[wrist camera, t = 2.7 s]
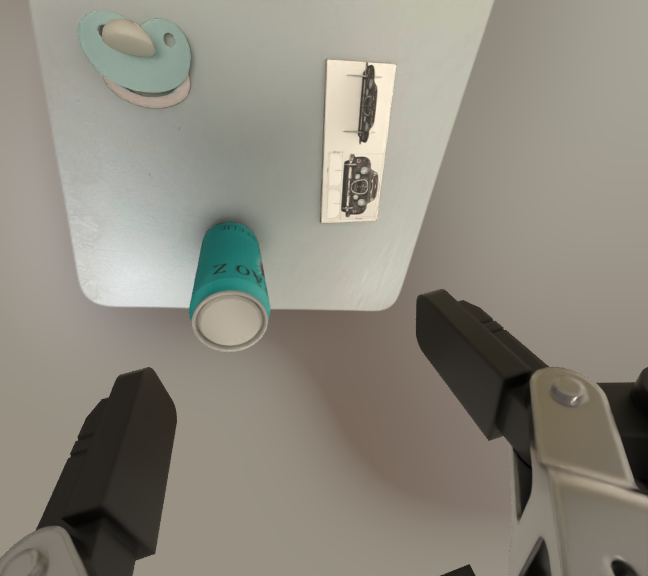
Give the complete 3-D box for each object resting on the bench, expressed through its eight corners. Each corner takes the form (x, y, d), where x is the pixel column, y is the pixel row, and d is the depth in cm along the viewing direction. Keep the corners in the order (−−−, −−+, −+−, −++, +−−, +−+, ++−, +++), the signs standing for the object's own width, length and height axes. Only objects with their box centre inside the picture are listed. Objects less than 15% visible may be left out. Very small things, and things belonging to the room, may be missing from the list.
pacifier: (199, 110, 29) (189, 24, 25) (192, 117, 23) (179, 10, 20) (105, 104, 27) (83, 10, 24) (75, 109, 22) (42, -10, 19)
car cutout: (325, 59, 29) (340, 54, 25) (394, 64, 30) (417, 60, 27) (320, 221, 36) (330, 236, 33) (375, 219, 38) (391, 233, 34)
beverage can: (252, 269, 37) (263, 357, 25) (200, 261, 35) (182, 353, 23) (262, 223, 35) (280, 294, 22) (206, 211, 33) (191, 283, 20)
